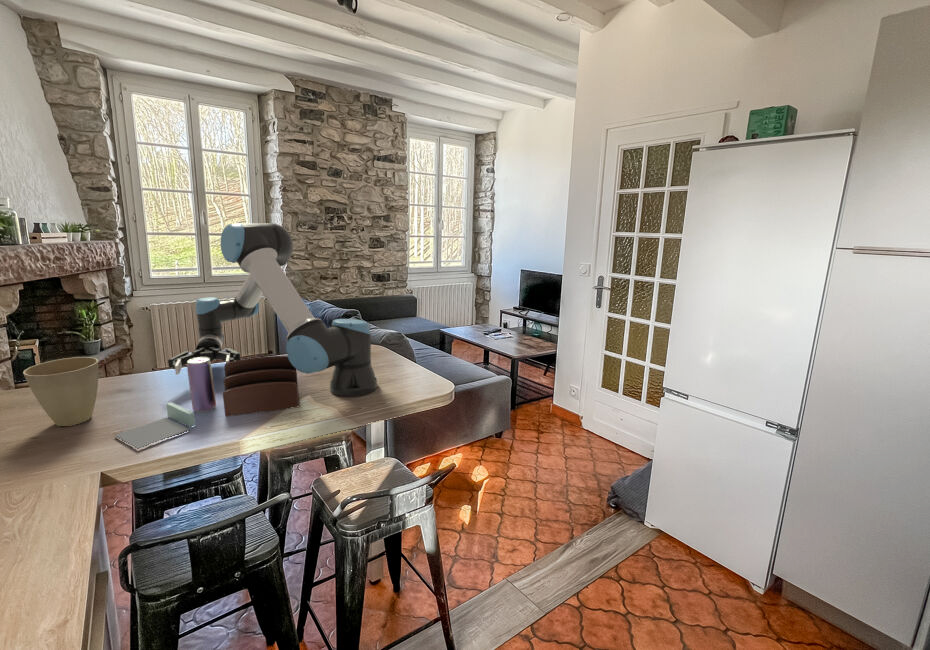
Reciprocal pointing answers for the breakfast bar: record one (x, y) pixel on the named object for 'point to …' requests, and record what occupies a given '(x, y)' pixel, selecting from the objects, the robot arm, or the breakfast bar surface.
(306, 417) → the breakfast bar surface
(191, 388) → the beverage can
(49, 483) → the breakfast bar surface
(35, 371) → the plant pot
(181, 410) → the frosted wall
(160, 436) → the slate coaster
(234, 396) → the letter holder
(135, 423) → the breakfast bar surface
